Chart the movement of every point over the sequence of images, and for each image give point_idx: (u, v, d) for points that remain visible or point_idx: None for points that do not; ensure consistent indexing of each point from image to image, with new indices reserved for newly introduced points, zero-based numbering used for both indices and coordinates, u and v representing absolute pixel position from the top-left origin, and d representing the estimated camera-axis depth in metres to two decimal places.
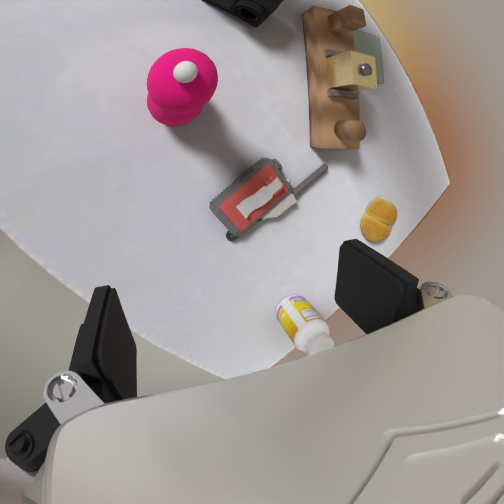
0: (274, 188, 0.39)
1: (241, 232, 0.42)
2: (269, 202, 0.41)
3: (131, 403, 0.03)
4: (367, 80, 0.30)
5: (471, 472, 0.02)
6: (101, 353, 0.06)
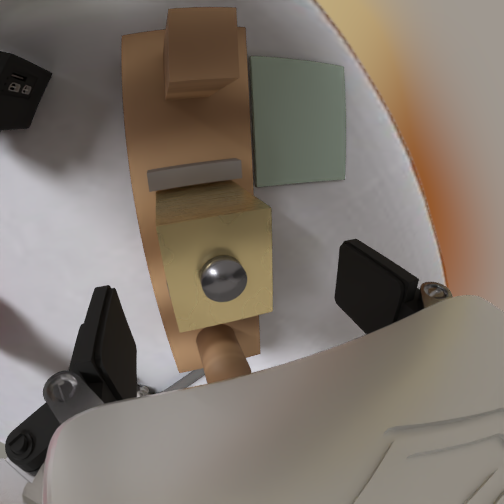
0: None
1: None
2: None
3: (131, 403, 0.03)
4: (233, 304, 0.12)
5: (471, 472, 0.02)
6: (101, 353, 0.06)
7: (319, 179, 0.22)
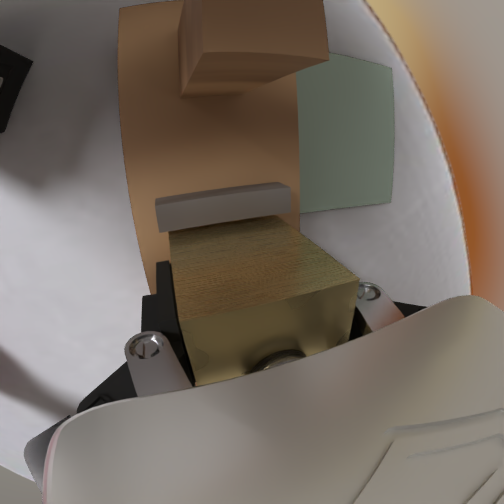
0: None
1: None
2: None
3: (131, 403, 0.03)
4: None
5: (471, 472, 0.02)
6: None
7: (365, 202, 0.18)
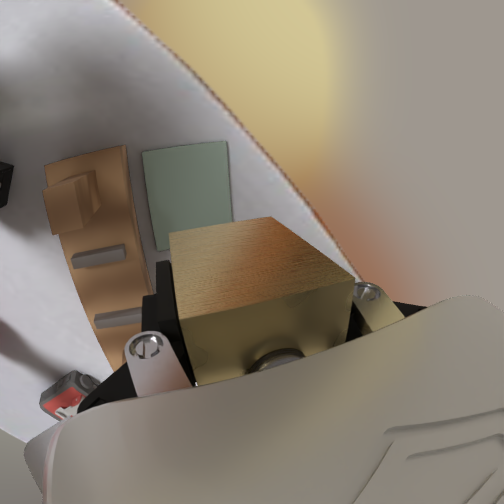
0: None
1: None
2: None
3: (131, 403, 0.03)
4: None
5: (471, 472, 0.02)
6: None
7: None
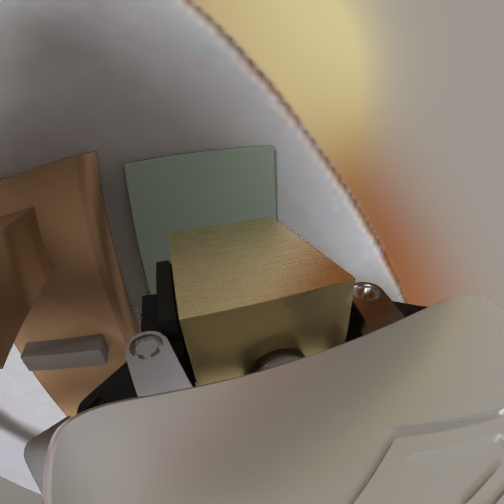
0: None
1: None
2: None
3: (131, 403, 0.03)
4: None
5: (471, 472, 0.02)
6: None
7: None
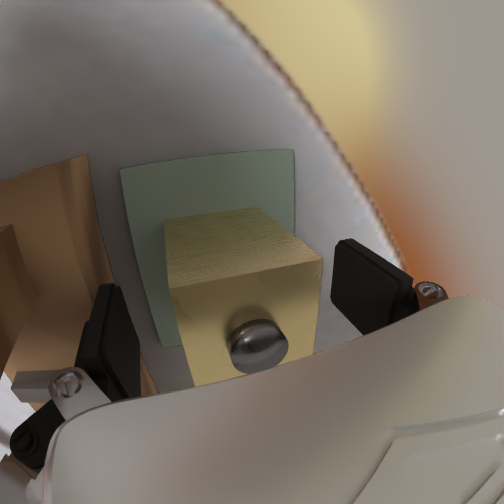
0: None
1: None
2: None
3: (131, 403, 0.03)
4: None
5: (471, 472, 0.02)
6: (107, 349, 0.06)
7: None
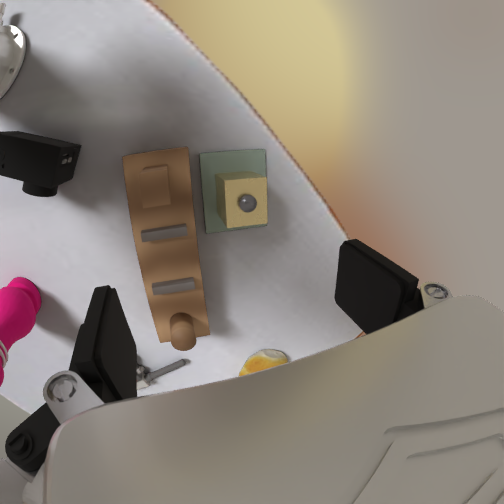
0: None
1: None
2: None
3: (131, 403, 0.03)
4: (251, 216, 0.29)
5: (471, 472, 0.02)
6: (101, 353, 0.06)
7: (247, 226, 0.36)
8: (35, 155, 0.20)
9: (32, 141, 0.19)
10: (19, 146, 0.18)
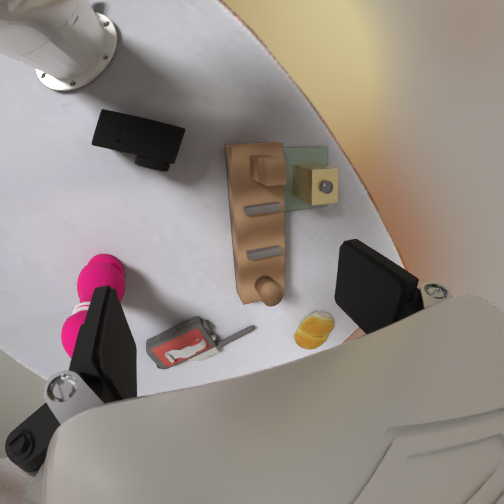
0: (198, 348, 0.45)
1: (167, 367, 0.46)
2: None
3: (131, 403, 0.03)
4: (327, 197, 0.38)
5: (471, 472, 0.02)
6: (101, 353, 0.06)
7: (313, 206, 0.45)
8: (157, 134, 0.28)
9: (154, 121, 0.27)
10: (138, 124, 0.27)
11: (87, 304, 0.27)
